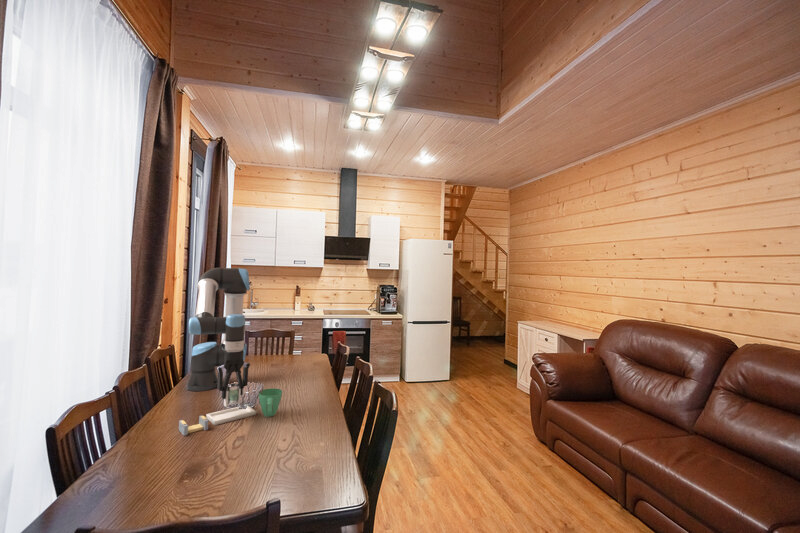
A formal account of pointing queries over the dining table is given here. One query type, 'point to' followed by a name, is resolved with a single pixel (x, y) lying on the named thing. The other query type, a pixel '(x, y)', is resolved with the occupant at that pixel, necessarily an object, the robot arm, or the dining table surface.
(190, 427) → the cradle
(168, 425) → the dining table surface
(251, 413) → the tray
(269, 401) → the mug
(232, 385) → the cell
